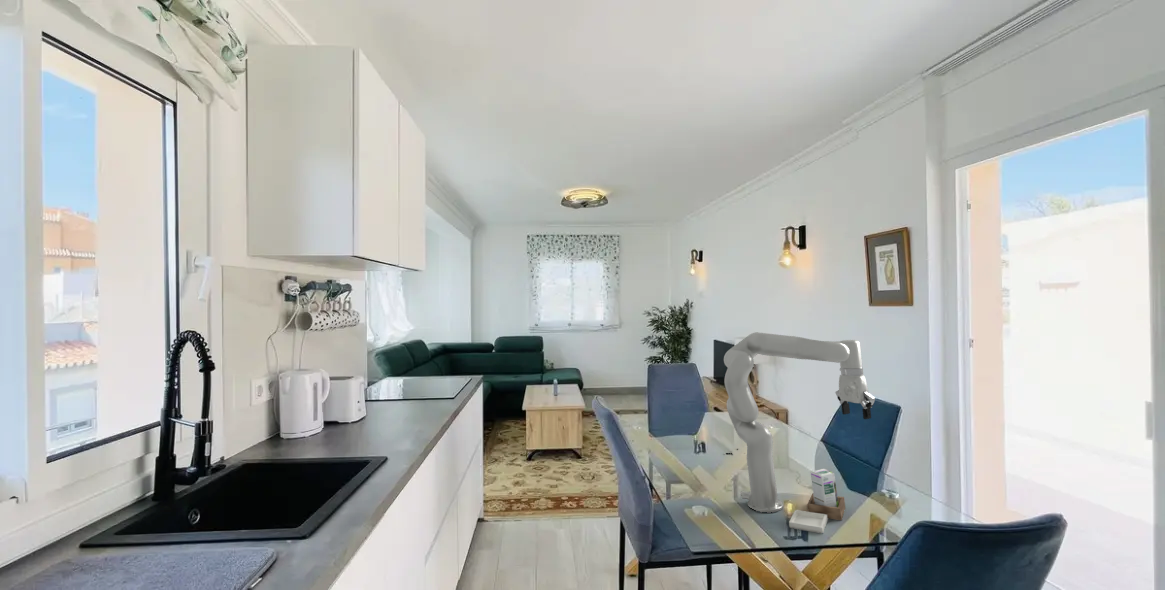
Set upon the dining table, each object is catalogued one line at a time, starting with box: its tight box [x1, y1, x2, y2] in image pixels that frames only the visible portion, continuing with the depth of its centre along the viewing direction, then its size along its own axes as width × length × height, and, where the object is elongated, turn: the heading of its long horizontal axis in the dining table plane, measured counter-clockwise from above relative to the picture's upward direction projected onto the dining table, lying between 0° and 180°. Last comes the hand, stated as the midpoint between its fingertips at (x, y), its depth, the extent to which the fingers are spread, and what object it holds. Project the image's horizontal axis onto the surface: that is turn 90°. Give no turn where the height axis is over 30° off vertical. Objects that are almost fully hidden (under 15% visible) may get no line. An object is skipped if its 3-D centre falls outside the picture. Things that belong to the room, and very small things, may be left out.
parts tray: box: [788, 509, 829, 534], centre depth 165 cm, size 10×10×2 cm
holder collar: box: [806, 492, 846, 521], centre depth 173 cm, size 11×11×4 cm
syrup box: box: [810, 468, 839, 508], centre depth 173 cm, size 6×6×14 cm
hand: (856, 416), depth 184 cm, fingers open, 9 cm apart
